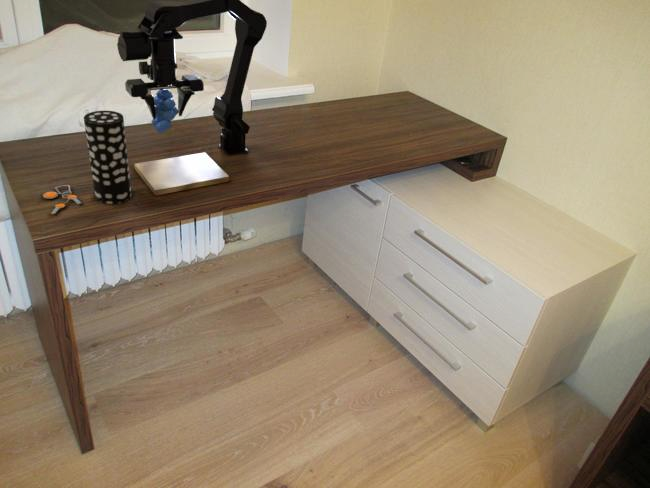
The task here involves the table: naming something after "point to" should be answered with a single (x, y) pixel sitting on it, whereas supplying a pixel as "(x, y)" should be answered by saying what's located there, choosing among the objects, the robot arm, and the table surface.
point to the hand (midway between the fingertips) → (167, 117)
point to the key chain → (70, 197)
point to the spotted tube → (108, 156)
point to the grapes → (164, 110)
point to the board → (180, 173)
